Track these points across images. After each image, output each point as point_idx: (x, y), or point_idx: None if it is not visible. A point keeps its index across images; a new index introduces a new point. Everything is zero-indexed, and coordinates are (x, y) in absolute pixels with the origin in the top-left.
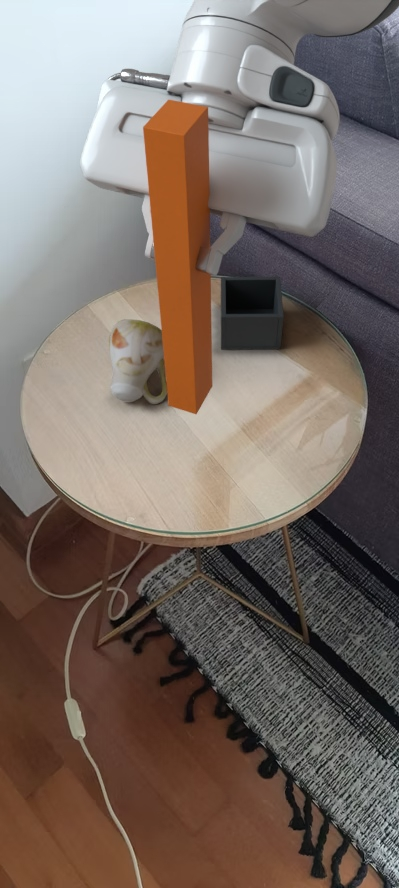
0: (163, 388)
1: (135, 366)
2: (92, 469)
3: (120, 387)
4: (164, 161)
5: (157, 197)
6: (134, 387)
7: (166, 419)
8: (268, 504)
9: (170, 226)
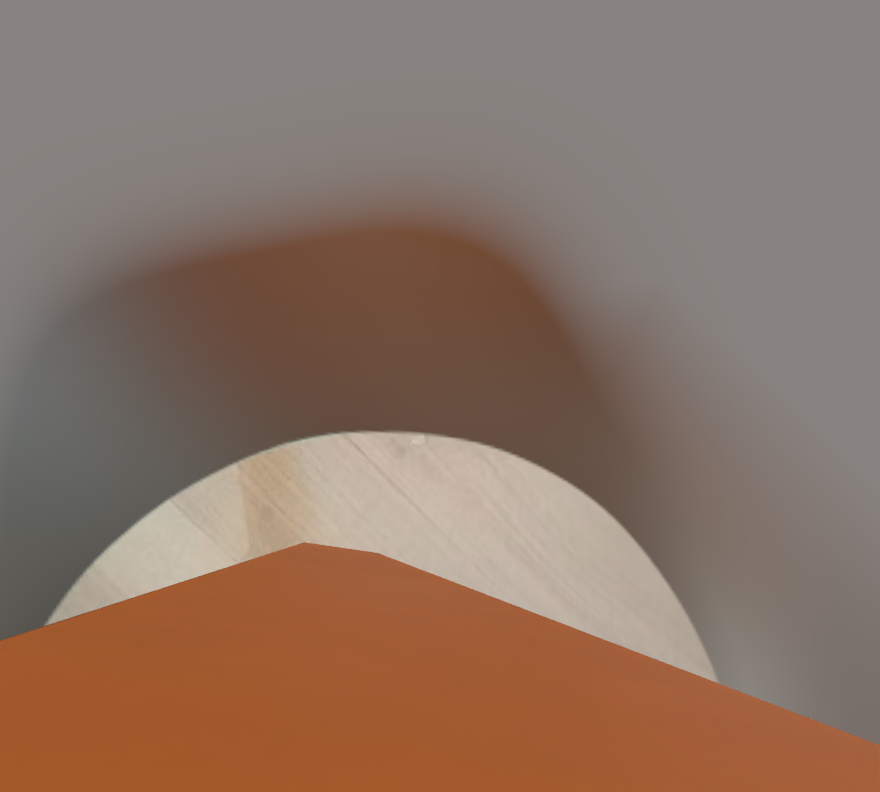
0: None
1: None
2: (523, 527)
3: None
4: (501, 701)
5: (505, 622)
6: None
7: None
8: (167, 533)
9: (370, 585)
